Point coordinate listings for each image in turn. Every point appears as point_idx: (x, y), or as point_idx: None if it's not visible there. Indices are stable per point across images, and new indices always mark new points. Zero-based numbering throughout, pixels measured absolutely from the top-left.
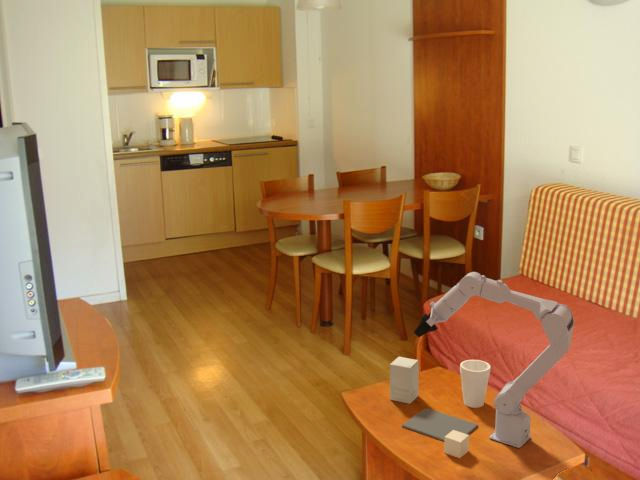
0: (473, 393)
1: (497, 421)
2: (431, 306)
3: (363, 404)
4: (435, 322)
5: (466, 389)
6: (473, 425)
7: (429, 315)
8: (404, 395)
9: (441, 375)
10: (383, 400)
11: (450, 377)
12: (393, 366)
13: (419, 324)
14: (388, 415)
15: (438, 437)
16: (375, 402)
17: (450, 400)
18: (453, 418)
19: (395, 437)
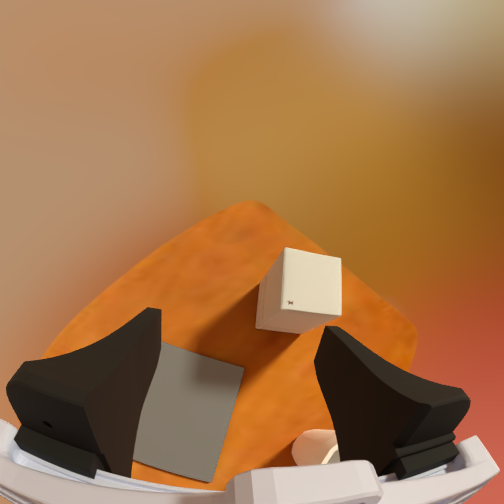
0: (299, 463)
1: None
2: (219, 501)
3: (219, 237)
4: (2, 496)
5: (305, 449)
6: (202, 476)
7: (359, 369)
8: (259, 311)
9: (398, 346)
10: (251, 270)
11: (398, 364)
12: (282, 259)
13: (94, 343)
14: (188, 297)
15: None
16: (236, 257)
17: (306, 403)
18: (217, 434)
19: (102, 332)
